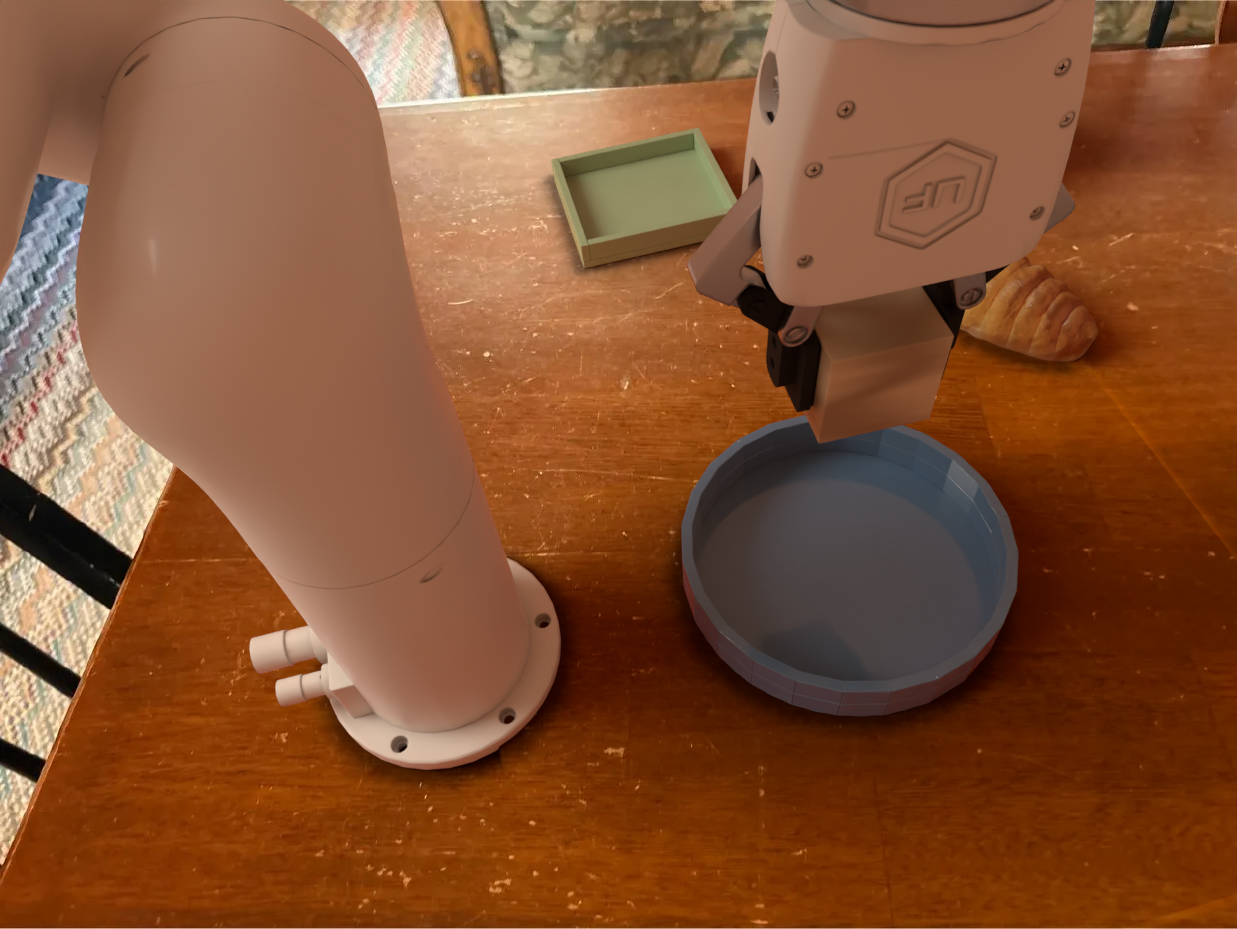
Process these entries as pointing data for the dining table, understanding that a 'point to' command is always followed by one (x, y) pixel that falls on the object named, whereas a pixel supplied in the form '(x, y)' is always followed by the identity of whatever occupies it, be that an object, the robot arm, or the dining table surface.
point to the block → (878, 363)
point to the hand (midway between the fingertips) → (856, 370)
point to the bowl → (847, 566)
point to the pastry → (1032, 315)
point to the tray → (642, 196)
